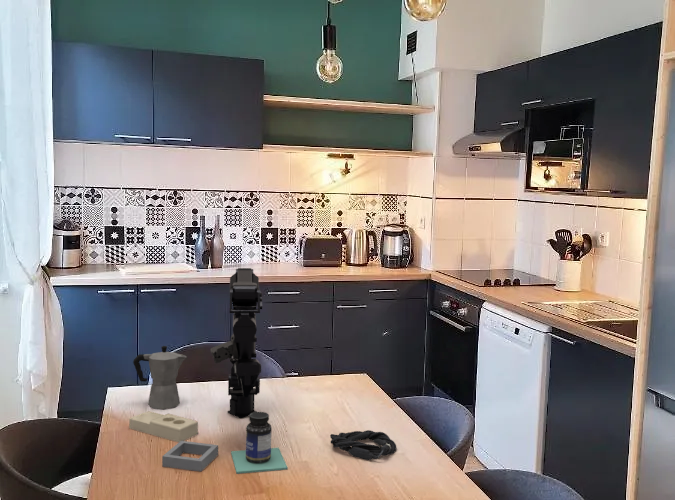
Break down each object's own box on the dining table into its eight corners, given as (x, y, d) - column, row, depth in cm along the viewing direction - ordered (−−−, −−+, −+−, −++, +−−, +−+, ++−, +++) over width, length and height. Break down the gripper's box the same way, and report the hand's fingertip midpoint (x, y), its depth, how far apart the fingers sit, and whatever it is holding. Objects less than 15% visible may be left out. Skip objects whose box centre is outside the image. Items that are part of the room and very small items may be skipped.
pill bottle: (241, 456, 161) (242, 413, 160) (264, 451, 165) (264, 408, 163) (252, 466, 156) (252, 421, 155) (275, 460, 159) (276, 416, 158)
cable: (319, 451, 168) (319, 434, 168) (344, 433, 180) (344, 418, 180) (380, 466, 160) (381, 448, 160) (402, 446, 172) (403, 430, 172)
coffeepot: (186, 398, 204) (187, 341, 203) (186, 409, 195) (186, 349, 193) (134, 400, 201) (134, 342, 199) (132, 411, 192) (131, 350, 190)
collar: (181, 450, 165) (181, 440, 165) (218, 454, 163) (218, 445, 163) (162, 466, 156) (162, 456, 155) (201, 471, 154) (201, 461, 153)
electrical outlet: (148, 407, 185) (198, 420, 176) (148, 421, 185) (198, 435, 176) (129, 415, 178) (179, 428, 170) (129, 429, 179) (179, 444, 170)
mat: (231, 453, 164) (231, 451, 164) (278, 449, 168) (278, 447, 168) (236, 473, 153) (236, 471, 153) (287, 469, 156) (287, 467, 156)
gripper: (209, 326, 177) (209, 383, 178) (215, 341, 159) (215, 405, 160) (251, 324, 180) (250, 380, 181) (261, 340, 162) (260, 402, 163)
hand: (243, 391), depth 172 cm, fingers open, 9 cm apart
